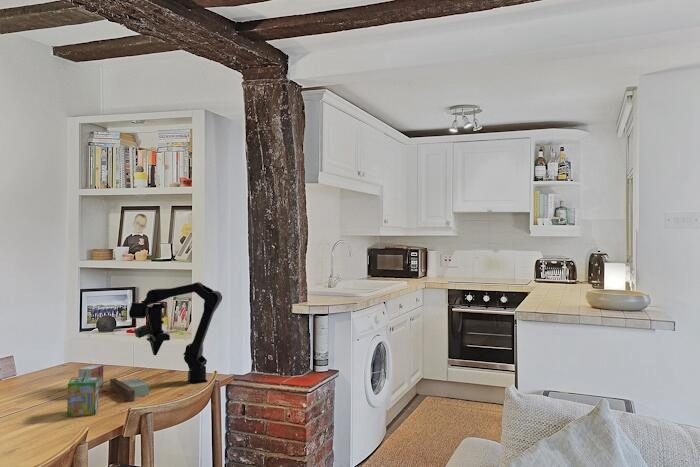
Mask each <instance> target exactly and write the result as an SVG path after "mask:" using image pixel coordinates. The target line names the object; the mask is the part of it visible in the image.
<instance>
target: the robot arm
mask: <svg viewBox="0 0 700 467" xmlns="http://www.w3.org/2000/svg"><path fill="white" fill-rule="evenodd" d="M191 293H195V294H197V296H198V297H200V298H201V299H203V300H204V301H203V312H202V314H201V318H200V320H199V324H198V326H197V329H196V332H195V336H194V337H193V341H192V342H191V343H189V344H187V345H186V347H185V351H184V353H183V360H184V362H185V363H186V364H187V367H188V371H187V382H188V383H191V384H193V385H194V384H200V383H201V384H202V383H207V382H208V381H209V380H208V379H207V366H206V365H207V362H208V359H207V358H206V357H204V355H203V351H204V341H205V338H206V335H207V333H208V331H209V327H210V325H211V322H212V319H213V316H214V313H215V311H216V310H217V309H218V307H219V305H220V304H221V302H222V301H223V295H222V293H221V292H220V291H218V290H213V289H212V288H210V287H208V286H206V285H205V284H203V283H202V282H199V281H197V282H193V283H190V284H186V285H181V286H176V287H171V288H170V287H169V288H165V287H164V288H154V289H150V290H149V291H148V292H147V293H146V297H145V298H144V300H143V301H142V302H134V301H133V302H131V303H130V304H131V306H130V307H129V310H128V315H129V318H130V319H146V318H147V320H146V321H145V325H142V326H140V327H136V328H135V329H133V332H134V335H135V338H138V339H141V338H144V337H146V336H147V337H146V338H145V340H146V341H147V342H149V344H150V347H151V351H152V355H153V356H157V354H158V353H159V351H160V348H161V347H162V344H163V343H164V341H170V340H171V336H170V334H169V333H168V332H165V330H164V329H163V324H164V322H165V321H164V320H163V309H167V308H168V305H167V304H165V302H164V301H165V300H168V299H169V298H172V297H173V298H174V297H177V296H182V295H187V294H191ZM162 301H163V302H162Z"/></svg>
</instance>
